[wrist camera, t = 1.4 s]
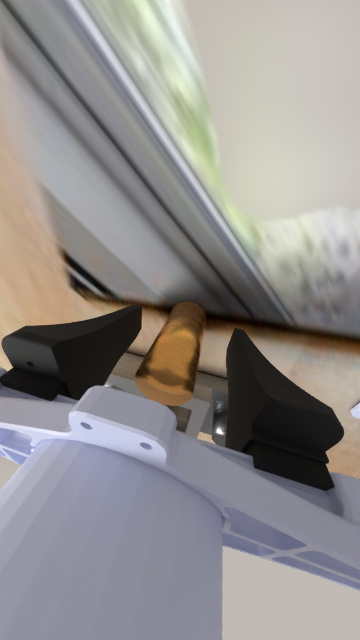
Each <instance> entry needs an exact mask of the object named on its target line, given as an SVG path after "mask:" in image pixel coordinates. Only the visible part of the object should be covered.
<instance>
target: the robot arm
mask: <svg viewBox="0 0 360 640" xmlns="http://www.w3.org/2000/svg"><path fill="white" fill-rule="evenodd" d="M141 324H142V307H141V306H137V305H132V306H129V307H126V308H123V309H121V310H118V311H115V312H113V313H109V314H106V315H103V316H100V317H97V318H93V319H89V320H84V321H78V322H72V323H65V324H56V325H39V326H24V327H23V328H21V329H19V330H17V331H15V332H13V333H11V334H9V335H7V336H6V337H4V338H3V340H2V348H3V350H4V352H5V354H6V356H7V357H8V359H9V361H10V363H11V364H12V366H13V367H14V368H12V369H11V370H9V371H8V372H7V371H6V370H5V369H3V368H0V455H1V456H3V457H5V458H7V459H9V460H11V461H13V462H15V463H17V464H20V465H21V466H20V468H19V469H18V470H17V471H16V472H15V473H14V475H13V476H12V477H11V478H10V479H9V481H8V482H7V483H6V484H5V485H4V487H3V488H2V489H1V490H0V640H222V546H225V547H229V548H232V549H235V550H238V551H241V552H244V553H248V554H251V555H254V556H257V557H260V558H263V559H267V560H270V561H273V562H276V563H280V564H283V565H286V566H289V567H292V568H295V569H298V570H301V571H304V572H307V573H310V574H313V575H316V576H320V577H322V578H325V579H328V580H331V581H334V582H336V583H339V584H342V585H345V586H347V587H350V588H353V589H355V590H358V591H360V479H357V478H354V477H350V476H347V475H344V474H341V473H329V471H328V469H327V466H326V464H327V463H329V459H328V457H327V455H326V453H325V452H326V451H327V450H329V449H330V448H331V447H333V446H334V445H336V444H337V443H338V442H339V441H340V440H341V439H342V438H343V435H344V429H343V427H342V425H341V423H340V422H339V420H338V418H337V416H336V415H335V413H334V411H333V410H332V408H330V407H329V406H327V405H326V404H324V403H322V402H321V401H319V400H318V399H316V398H314V397H313V396H311V395H310V394H308V393H307V392H305V391H304V390H303V389H301V388H300V387H298V386H297V385H296V384H294V383H293V382H292V381H290V380H289V379H288V378H287V377H286V376H284V375H283V374H282V373H281V372H280V371H278V370H277V369H276V368H275V367H274V366H273V365H272V364H271V363H270V362H269V361H268V360H267V359H266V358H265V357H264V356H263V354H262V353H261V352H260V351H259V350H258V349H257V347H256V346H255V345H254V344H253V342H252V341H251V340H250V338H249V337H248V335H247V334H246V333H245V332H244V330H241V329H236V328H235V329H234V332H233V334H232V337H231V340H230V342H229V345H228V348H227V354H226V368H227V382H228V409H227V426H226V440H225V447H222V446H219V445H216V444H212V443H209V442H206V441H203V440H200V439H197V438H194V437H191V436H187V435H184V434H181V433H179V432H177V431H176V426H177V420H176V415H175V414H174V413H173V412H172V411H171V410H170V409H169V408H168V407H167V406H165V405H163V404H161V403H159V402H157V401H154V400H150V399H147V398H144V397H140V396H137V395H134V394H130V393H127V392H124V391H120V390H117V389H114V388H110V387H106V386H104V384H105V383H106V381H107V379H108V377H109V376H110V374H111V372H112V371H113V369H114V367H115V366H116V364H117V362H118V361H119V360H120V358H121V357H122V356H123V354H124V353H125V352H126V350H127V349H128V348H129V347H130V345H131V344H132V343H133V341H134V340H135V339H136V337H137V335H138V334H139V332H140V330H141ZM350 413H351V414H352V416H353V417H356V418H359V419H360V403H358V404H357V405H356V406H355V407H354V408H352V409H351V410H350ZM325 463H326V464H325Z"/></svg>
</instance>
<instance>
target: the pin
mask: <svg viewBox="0 0 360 640" xmlns="http://www.w3.org/2000/svg"><path fill="white" fill-rule="evenodd" d="M205 324H206V314H205V311H204V310H203V308H202V307H201V306H199V305H198V304H196V303H194V302H190V301H185V302H181V303H179V304H177V305H176V306H175V307H174V308H173V310H172V312H171V313H170V315H169V317H168V318H167V320H166V322H165V324H164V325H163V327H162V329H161V330H160V332H159V334H158V336H157V337H156V339H155V341H154V343H153V344H152V346H151V348H150V349H149V351H148V353H147V355H146V356H145V358H144V360H143V361H142V363H141V365H140V367H139V368H138V370H137V372H136V374H135V382H136V385H137V387H138V389H139V390H140V391H141V392H142V393H143V394H144V395H145V396H146V397H148V398H149V399H151V400H154V401H157V402H159V403H161V404H164V405H169V406H178V405H182V404H185V403H187V402H188V401H190V400H191V398H192V396H193V392H194V387H195V381H196V375H197V370H198V364H199V358H200V353H201V347H202V341H203V336H204V330H205Z"/></svg>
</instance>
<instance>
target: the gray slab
mask: <svg viewBox="0 0 360 640" xmlns="http://www.w3.org/2000/svg"><path fill="white" fill-rule="evenodd" d="M144 358H145V357H141V356H137V355H133V354H130V353H126V352H125V353H124V354H123V356H122V357H121V358H120V360H119V361H118V362H117V364H116V366H115V367H114V369H113V371H112V372H111V374H110V376H109V377H108V379H107V381H106V383H105V384H104V386H106V387H110V388H114V389H117V390H120V391H124V392H127V393H130V394H134V395H137V396H140V397H144V398H147V399H149V398H148V397H146V396H145V395H144V394H143V393H142V392H141V391H140V390H139V389H138V387H137V385H136V382H135V374H136V372H137V370H138V368H139V367H140V365H141V363H142V361H143V360H144ZM150 400H151V399H150ZM163 405H164V404H163ZM165 406H167V407H168V408H169V409H170V410H171V411H172V412H173V413H174V414H175V415H176V420H177V426H176V431H177V432H179V433H181V434H184V435H187V436H191V437H194V438H197V436H198V434H199V431H200V432H203V433H207V434H210V435H212V440H213V441H214V442H215V443H216V444H217V445H219V446H222V447H225V440H226V426H227V409H228V382H227V380H226V379H222V378H219V377H215V376H211V375H208V374H204V373H200V372H197V375H196V381H195V387H194V392H193V396H192V398H191V400H190V401H188V402H187V403H185V404H182V405H178V406H169V405H165Z"/></svg>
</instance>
